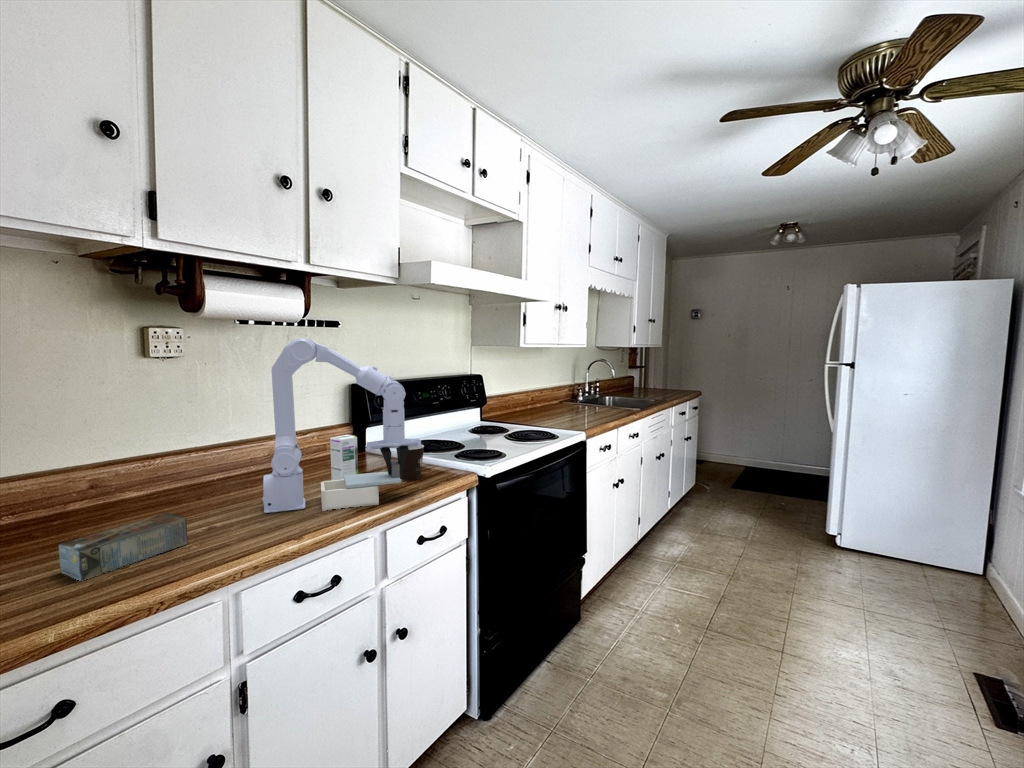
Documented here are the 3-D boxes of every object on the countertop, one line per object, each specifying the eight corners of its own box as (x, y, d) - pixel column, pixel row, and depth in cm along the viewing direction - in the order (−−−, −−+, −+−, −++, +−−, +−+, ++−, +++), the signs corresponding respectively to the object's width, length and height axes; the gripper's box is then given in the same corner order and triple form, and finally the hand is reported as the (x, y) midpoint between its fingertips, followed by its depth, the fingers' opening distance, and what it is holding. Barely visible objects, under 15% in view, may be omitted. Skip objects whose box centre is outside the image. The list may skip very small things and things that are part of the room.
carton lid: (346, 488, 126) (346, 471, 126) (343, 478, 135) (343, 462, 135) (401, 482, 131) (401, 466, 131) (395, 473, 141) (395, 458, 140)
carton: (322, 511, 124) (321, 491, 124) (321, 499, 134) (320, 481, 133) (378, 504, 130) (378, 486, 129) (374, 493, 139) (373, 476, 138)
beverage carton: (57, 574, 90) (55, 540, 90) (168, 538, 107) (167, 508, 107) (79, 584, 87) (77, 548, 86) (191, 545, 104) (189, 514, 103)
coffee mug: (411, 482, 150) (410, 450, 149) (390, 478, 154) (390, 447, 154) (436, 474, 160) (435, 444, 159) (416, 470, 164) (415, 441, 163)
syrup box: (342, 487, 145) (341, 438, 144) (330, 483, 149) (329, 436, 147) (358, 482, 150) (357, 436, 148) (347, 479, 153) (346, 433, 152)
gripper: (368, 429, 128) (369, 479, 129) (423, 425, 134) (423, 474, 135) (365, 424, 135) (366, 473, 136) (417, 421, 140) (418, 468, 141)
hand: (394, 473), depth 136 cm, fingers closed on carton lid, 2 cm apart
